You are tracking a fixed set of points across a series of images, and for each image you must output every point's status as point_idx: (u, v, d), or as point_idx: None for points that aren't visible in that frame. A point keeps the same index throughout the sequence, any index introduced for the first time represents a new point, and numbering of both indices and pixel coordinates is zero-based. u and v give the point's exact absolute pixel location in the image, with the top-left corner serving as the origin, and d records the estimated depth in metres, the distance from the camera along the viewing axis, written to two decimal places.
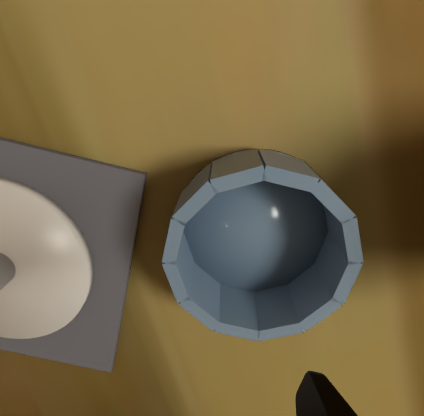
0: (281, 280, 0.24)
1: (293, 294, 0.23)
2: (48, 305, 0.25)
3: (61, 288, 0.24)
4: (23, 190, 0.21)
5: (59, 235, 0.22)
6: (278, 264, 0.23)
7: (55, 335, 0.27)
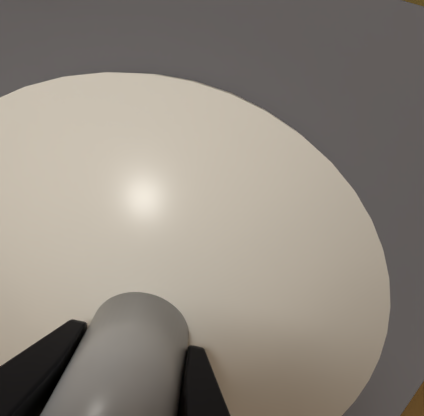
0: None
1: None
2: (265, 229, 0.08)
3: (201, 176, 0.07)
4: None
5: (3, 148, 0.07)
6: None
7: (406, 239, 0.09)
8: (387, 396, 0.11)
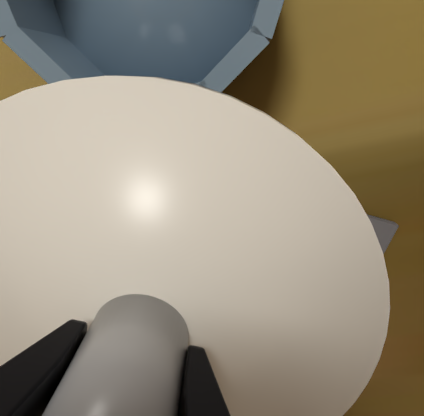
0: None
1: None
2: (265, 232, 0.08)
3: (200, 179, 0.07)
4: None
5: (4, 151, 0.07)
6: None
7: None
8: None
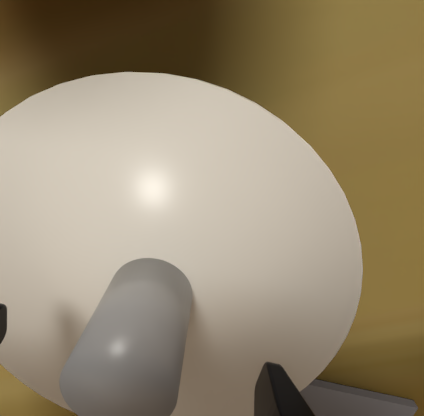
0: None
1: None
2: (256, 202, 0.09)
3: (202, 157, 0.09)
4: None
5: (40, 134, 0.09)
6: None
7: None
8: None
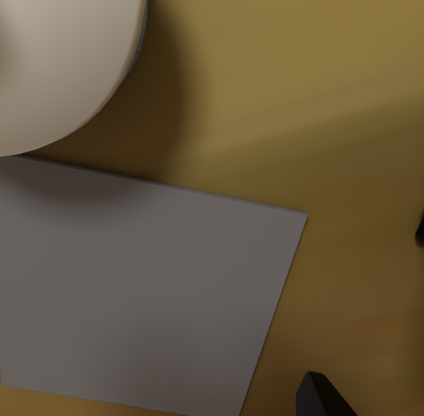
0: None
1: None
2: None
3: None
4: None
5: None
6: None
7: (241, 278, 0.21)
8: (250, 348, 0.23)
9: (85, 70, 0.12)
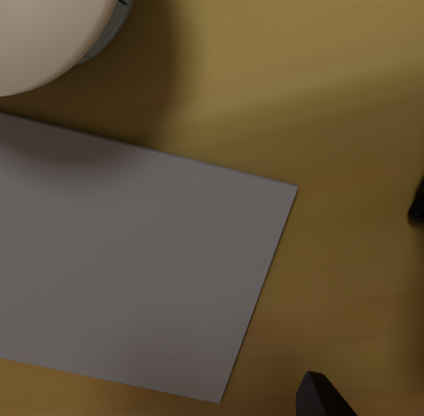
0: None
1: None
2: None
3: None
4: None
5: None
6: None
7: (228, 251, 0.20)
8: (235, 325, 0.23)
9: (66, 7, 0.11)
